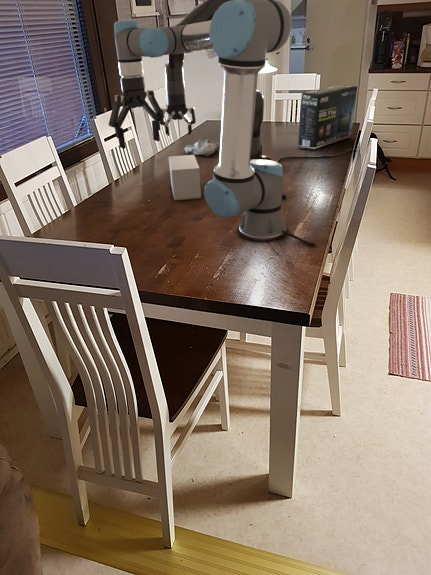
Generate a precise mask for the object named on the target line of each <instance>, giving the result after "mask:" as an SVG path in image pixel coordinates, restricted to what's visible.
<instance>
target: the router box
mask: <svg viewBox="0 0 431 575" xmlns="http://www.w3.org/2000/svg"><path fill="white" fill-rule="evenodd" d="M357 93H358V86H356V85H350V84H339V85H338V84H337V85H334V86H328V87H324V88H318V89H314V90H309V91H304V92H301V93H300V109H299V110H300V111H299V124H298V137H297V146H298V145H302V146H307V147H317V146H320V145H323V144H325V143H328V142H331V141H333V140H336V139H338V138H341V137H344V136H347V135H351V136H352V133H353V132H352V131H353V125H354V115H355V109H356V99H357ZM311 151H313V150H312V149H311Z"/></svg>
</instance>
